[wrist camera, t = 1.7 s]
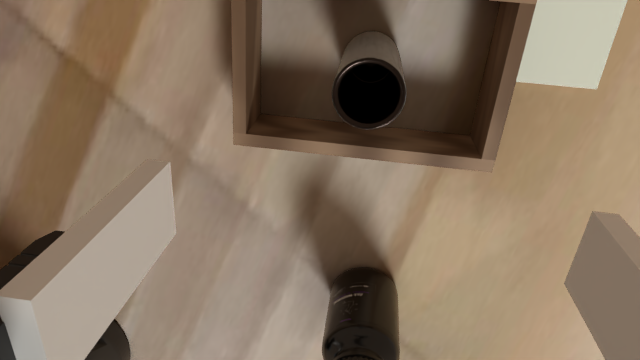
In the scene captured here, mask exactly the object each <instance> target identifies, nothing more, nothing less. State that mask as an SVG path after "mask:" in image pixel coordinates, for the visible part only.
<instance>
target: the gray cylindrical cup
mask: <svg viewBox="0 0 640 360" xmlns="http://www.w3.org/2000/svg"><path fill="white" fill-rule="evenodd" d="M332 101H333V105H334V107H335V110H336V111H337V113H338V115H339V116H340V117H341V118H342V119H343V120H344V121H345V122H346V123H348V124H349V125H351V126H353V127H356V128H359V129H365V130H372V129H378V128H381V127H384V126H386V125H388V124H389V123H391V122H392V121H393V120H395V119H396V118H397V116H398V115H399V114H400V112H401V111H402V109H403V107H404V104H405V101H406V84H405V79H404V75H403V70H402V65H401V60H400V55H399V51H398V48H397V46H396V45H395V43H394V42H393V41H392V39H391V38H389V37H388V36H387V35H385V34H383V33H380V32H376V31H369V32H364V33H361V34H359V35H357V36H356V37H354V38H353V39H352V40H351V41H350V42H349V44H348V45H347V47H346V48H345V51H344V54H343V56H342V59H341V62H340V65H339V68H338V71H337V74H336V77H335V80H334V83H333V87H332Z"/></svg>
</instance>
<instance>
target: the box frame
mask: <svg viewBox="0 0 640 360" xmlns="http://www.w3.org/2000/svg"><path fill="white" fill-rule="evenodd" d="M491 1H500V6H499V10H498V15H497V19H496V23H495V28H494V32H493V36H492V41H491V45H490V50H489V54H488V58H487V63H486V67H485V71H484V76H483V80H482V85H481V89H480V93H479V98H478V102H477V106H476V111H475V115H474V120H473V124H472V128H471V133H470V135H460V134H451V133H441V132H431V131H422V130H412V129H402V128H392V127H381V128H378V129H372V130H365V129H359V128H356V127H353V126H351V125H349V124H348V123H344V122H334V121H325V120H315V119H305V118H296V117H286V116H276V115H266V114H261V29H262V0H231V24H232V85H233V145H242V146H251V147H261V148H270V149H279V150H288V151H297V152H307V153H316V154H325V155H334V156H344V157H353V158H362V159H371V160H381V161H390V162H399V163H408V164H417V165H427V166H436V167H445V168H454V169H464V170H473V171H482V172H491V173H492V171H493V167H494V163H495V160H496V156H497V152H498V148H499V144H500V140H501V137H502V133H503V129H504V125H505V121H506V117H507V114H508V110H509V106H510V102H511V98H512V95H513V91H514V87H515V83H516V79H517V75H518V72H519V68H520V64H521V60H522V56H523V52H524V49H525V45H526V41H527V37H528V33H529V30H530V26H531V22H532V18H533V14H534V10H535V7H536V3H537V0H491Z"/></svg>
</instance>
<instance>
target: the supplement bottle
mask: <svg viewBox="0 0 640 360" xmlns="http://www.w3.org/2000/svg"><path fill="white" fill-rule="evenodd" d="M322 355H323V359H324V360H399V355H400V348H399V317H398V294H397V290H396V287H395V285H394V283H393V282H392V280H391V279H390V278H389V277H388V276H387V275H385V274H384V273H382V272H380V271H378V270H376V269H372V268H367V267H359V268H353V269H350V270H347V271H345V272H343V273H342V274H341V275H339V276H338V277H337V279H336V280H335V281H334V283H333V286H332V289H331V294H330V300H329V306H328V312H327V318H326V324H325V331H324V337H323V343H322Z"/></svg>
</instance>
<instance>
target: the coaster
mask: <svg viewBox="0 0 640 360" xmlns="http://www.w3.org/2000/svg"><path fill="white" fill-rule="evenodd" d="M626 3H627V0H537V3H536V7H535V10H534V14H533V18H532V22H531V26H530V30H529V33H528V37H527V41H526V45H525V49H524V52H523V56H522V60H521V64H520V68H519V72H518V75H517V79H516V82H526V83H536V84H547V85H557V86H568V87H579V88H589V89H597V87H598V84H599V81H600V78H601V75H602V72H603V70H604V67H605V64H606V61H607V58H608V55H609V52H610V49H611V46H612V43H613V40H614V38H615V35H616V32H617V29H618V26H619V23H620V20H621V17H622V14H623V11H624V8H625V5H626Z"/></svg>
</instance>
